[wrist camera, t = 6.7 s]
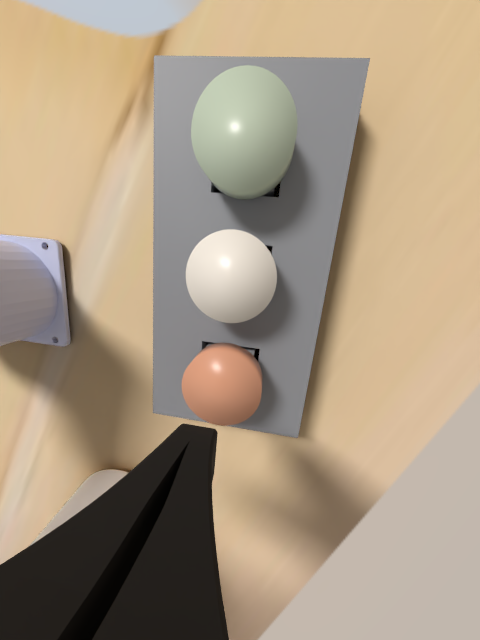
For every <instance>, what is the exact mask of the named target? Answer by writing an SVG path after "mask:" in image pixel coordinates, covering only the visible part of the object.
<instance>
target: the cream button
mask: <svg viewBox="0 0 480 640" xmlns="http://www.w3.org/2000/svg"><path fill="white" fill-rule="evenodd" d="M186 284H187V288H188V292H189V294H190V297H191V298H192V300H193V302H194V303H195V305H196V306H197V307H198V308H199V309H200V310H201V311H202V312H203V313H204V314H205V315H207V316H209V317H210V318H212V319H214V320H217V321H220V322H225V323H240V322H244V321H247V320H250V319H252V318H254V317H255V316H257V315H258V314H260V313H261V312H262V311H263V310H264V309H265V308H266V307H267V306H268V304H269V303H270V301H271V299H272V297H273V295H274V292H275V289H276V284H277V270H276V265H275V262H274V259H273V257H272V255H271V253H270V251H269V250H268V248H267V247H266V246H265V245H264V244H263V243H262V242H261V241H260V240H259V239H258V238H256V237H255V236H253V235H251V234H249V233H247V232H244V231H241V230H235V229H227V230H221V231H217V232H214V233H212V234H210V235H208V236H206V237H205V238H204V239H202V240H201V241H200V242H199V243H198V244H197V245H196V247H195V248H194V249H193V251H192V253H191V255H190V257H189V259H188V262H187V267H186Z"/></svg>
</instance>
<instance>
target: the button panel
mask: <svg viewBox="0 0 480 640" xmlns="http://www.w3.org/2000/svg"><path fill="white" fill-rule="evenodd" d="M369 61H370V58H305V57H223V56H154V241H153V413H156V414H162V415H167V416H173V417H179V418H185V419H191V420H196V421H202V422H207V421H205V420H203V419H201V418H200V417H198V416H197V415H196V414H195V413H194V412H193V411H192V410H191V409H190V408H189V407H188V405H187V403H186V402H185V399H184V397H183V393H182V378H183V374H184V372H185V370H186V368H187V367H188V365H189V364H190V363H191V362H192V360H193V359H194V358H195V357H196V355H197V354H198V353H199V352H200V351H201V350H202V349H204V348H205V347H206V346H207V345H208V344H209V342H213V343H232V344H236V345H239V346H242V347H249V348H256V349H260V350H259V358H258V363H259V365H260V368H261V371H262V393H261V400H260V403H259V406H258V408H257V410H256V411H255V412H254V414H253V415H252V416H251V417H249V418H248V419H247V420H245V421H243V422H241V423H238V424H234V425H228V426H231V427H237V428H243V429H248V430H254V431H260V432H266V433H272V434H277V435H283V436H289V437H295V438H298V434H299V429H300V424H301V419H302V413H303V408H304V403H305V398H306V392H307V387H308V382H309V377H310V371H311V366H312V361H313V355H314V350H315V345H316V340H317V334H318V329H319V324H320V319H321V313H322V308H323V303H324V298H325V292H326V287H327V282H328V276H329V271H330V266H331V261H332V255H333V250H334V245H335V240H336V234H337V229H338V224H339V219H340V213H341V208H342V203H343V197H344V192H345V187H346V182H347V176H348V171H349V166H350V161H351V155H352V150H353V145H354V140H355V134H356V129H357V124H358V118H359V113H360V108H361V103H362V97H363V92H364V87H365V82H366V76H367V71H368V66H369ZM244 65H251V66H258V67H262V68H264V69H266V70H269V71H270V72H272V73H273V74H275V75H276V76H277V77H278V78H279V79H281V80H282V82H283V83H284V84H285V85H286V87H287V88H288V90H289V92H290V93H291V96H292V98H293V100H294V104H295V107H296V113H297V136H296V141H295V146H294V151H293V156H292V160H291V163H290V166H289V168H288V170H287V172H286V174H285V176H284V177H283V179H282V180H281V184H280V192H279V197H267V196H260V197H257V198H254V199H236V198H232V197H230V196H228V195H225V194H224V193H221V192H220V191H219V190H218V189H217V188H216V187H215V186H214V185H213V183H212V182H211V181H210V179H209V178H208V177H207V175H206V174H205V173H204V171H203V170H202V168H201V167H200V165H199V163H198V161H197V159H196V156H195V154H194V150H193V146H192V140H191V124H192V118H193V113H194V110H195V107H196V104H197V102H198V99H199V97H200V96H201V94H202V92H203V91H204V89H205V88H206V87H207V85H208V84H209V83H210V82H211V81H212V80H213V79H214V78H216V77H217V76H218V75H219V74H221V73H223V72H224V71H226V70H228V69H231V68H233V67H237V66H244ZM227 229H235V230H241V231H244V232H247V233H249V234H251V235H253V236H255V237H256V238H258V239H259V240H260V241H261V242H262V243H263V244H264V245H265V246H266V247H267V248H272V257H273V259H274V262H275V265H276V270H277V284H276V289H275V292H274V295H273V297H272V299H271V301H270V303H269V304H268V306H267V307H266V308H265V309H264V310H263V311H262V312H261V313H260V314H258V315H257V316H255V317H254V318H252V319H250V320H247V321H244V322H240V323H225V322H220V321H217V320H214V319H212V318H210V317H209V316H207V315H205V314H204V313H203V312H202V311H201V310H200V309H199V308H198V307H197V306H196V305H195V303H194V302H193V300H192V298H191V297H190V294H189V292H188V288H187V284H186V267H187V262H188V259H189V257H190V255H191V253H192V251H193V249H194V248H195V247H196V245H197V244H198V243H199V242H200V241H201V240H202V239H204V238H205V237H206V236H208V235H210V234H212V233H214V232H217V231H221V230H227ZM208 423H209V422H208Z"/></svg>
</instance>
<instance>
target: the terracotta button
mask: <svg viewBox="0 0 480 640" xmlns="http://www.w3.org/2000/svg"><path fill="white" fill-rule="evenodd" d="M254 356H255V348H249V347H242V346H239V345H236V344H232V343H213V342H209V344H208V345H207V346H206V347H205V348H204V349H202V350H201V351H200V352H199V353H198V354H197V355H196V357H195V358H194V359H193V360H192V362H191V363H190V364H189V365H188V367H187V368H186V370H185V372H184V374H183V378H182V393H183V397H184V399H185V402H186V403H187V405H188V407H189V408H190V409H191V410H192V411H193V412H194V413H195V414H196V415H197V416H198V417H200V418H201V419H203V420H205V421H207V422H209V423H212V424H216V425H223V426H228V425H234V424H238V423H241V422H243V421H245V420H247V419H248V418H249V417H251V416H252V415H253V414H254V412H255V411H256V410H257V408H258V406H259V403H260V400H261V393H262V371H261V368H260V365H259V363H258V361H257V360H256V359H255V357H254Z"/></svg>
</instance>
